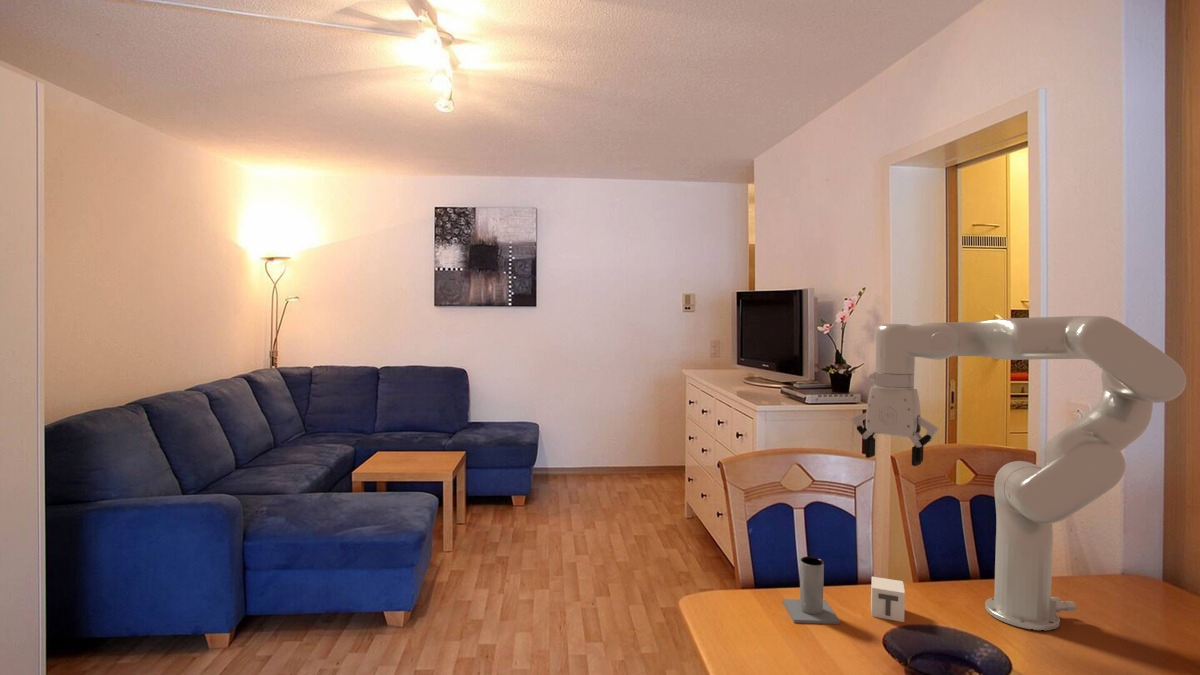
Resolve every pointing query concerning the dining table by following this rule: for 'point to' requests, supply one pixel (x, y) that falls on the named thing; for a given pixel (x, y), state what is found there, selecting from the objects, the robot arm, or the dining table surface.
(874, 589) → the letter cube
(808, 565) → the grey hollow tube
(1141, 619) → the dining table surface
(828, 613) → the grey mat
